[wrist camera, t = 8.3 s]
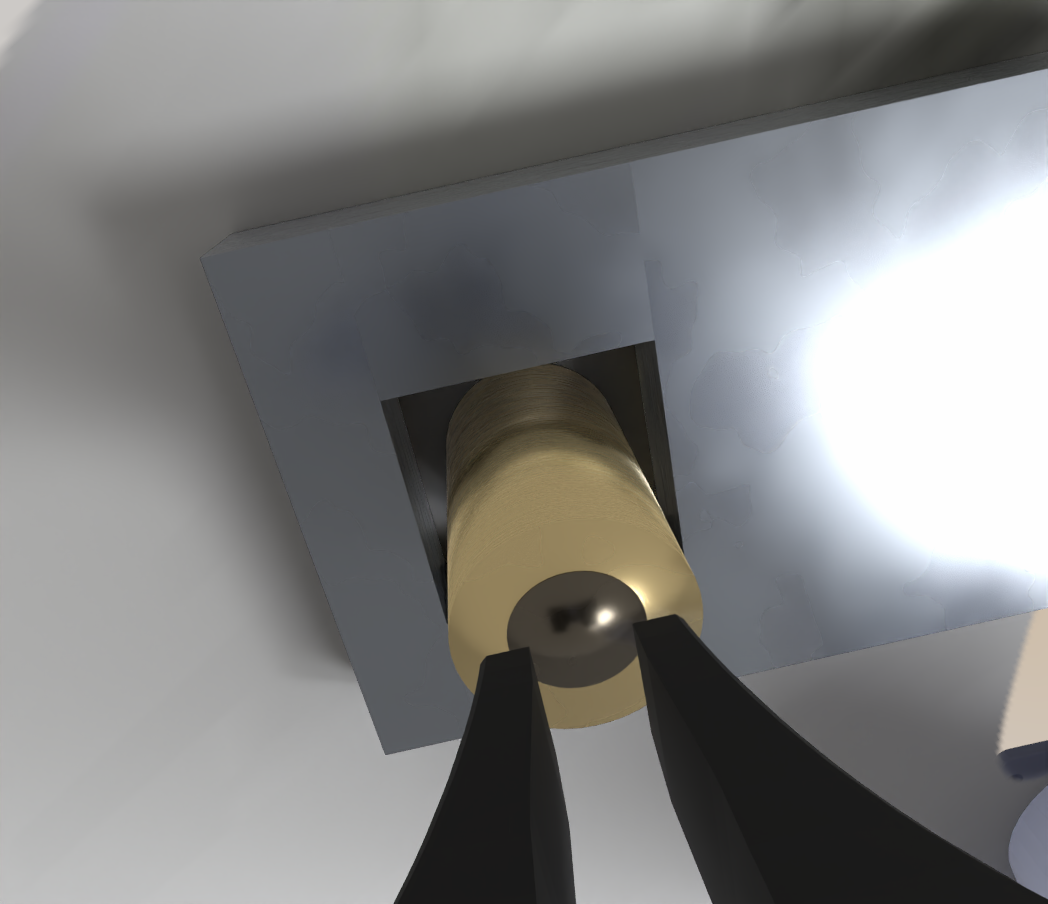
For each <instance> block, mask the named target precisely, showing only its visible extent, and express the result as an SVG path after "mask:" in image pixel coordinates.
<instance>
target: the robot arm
mask: <svg viewBox="0 0 1048 904" xmlns="http://www.w3.org/2000/svg"><path fill="white" fill-rule="evenodd" d="M632 625H633V631H634V637H635V642H636V648H637V653H638V659H639V665H640V670H641V676H642V682H643V687H644V693H645V698H646V704H647V710H648V715H649V721H650V727H651V732H652V736H653V740H654V743H655V746H656V750H657V753H658V757H659V760H660V764H661V767H662V771H663V774H664V778H665V781H666V785H667V788H668V791H669V795H670V798H671V802H672V804H673V807H674V809H675V812H676V814H677V817H678V819H679V822H680V824H681V827H682V829H683V832H684V834H685V837H686V839H687V842H688V844H689V847H690V849H691V852H692V854H693V857H694V859H695V862H696V864H697V867H698V869H699V872H700V874H701V876H702V879H703V881H704V884H705V886H706V889H707V891H708V894H709V896H710V899H711V901H712V904H1048V785H1047V786H1046V787H1045V788H1044V789H1043V790H1042V791H1041V792H1040V793H1039V794H1038V795H1037V796H1036V797H1035V798H1034V799H1033V800H1032V801H1031V802H1030V804H1029V805H1028V806H1027V808H1026V809H1025V810H1024V812H1023V813H1022V814H1021V816H1020V817H1019V819H1018V821H1017V823H1016V825H1015V827H1014V829H1013V831H1012V835H1011V839H1010V843H1009V863H1010V866H1011V869H1012V871H1013V874H1014V876H1015V878H1016V881H1017V882H1016V881H1014V880H1012V879H1010V878H1009V877H1007V876H1005V875H1004V874H1002V873H1000V872H999V871H997V870H995V869H993V868H992V867H990V866H988V865H987V864H985V863H983V862H982V861H980V860H978V859H976V858H975V857H973V856H971V855H970V854H968V853H966V852H964V851H963V850H961V849H959V848H958V847H956V846H954V845H953V844H951V843H949V842H947V841H946V840H944V839H942V838H941V837H939V836H938V835H936V834H934V833H933V832H931V831H930V830H928V829H927V828H925V827H924V826H922V825H921V824H919V823H918V822H916V821H915V820H913V819H912V818H910V817H909V816H907V815H906V814H904V813H903V812H901V811H900V810H898V809H897V808H895V807H894V806H892V805H891V804H889V803H888V802H886V801H885V800H884V799H882V798H881V797H879V796H878V795H877V794H875V793H874V792H872V791H871V790H870V789H868V788H867V787H865V786H864V785H862V784H861V783H860V782H858V781H857V780H856V779H854V778H853V777H852V776H850V775H849V774H848V773H846V772H845V771H844V770H842V769H841V768H840V767H839V766H837V765H836V764H835V763H833V762H832V761H831V760H830V759H828V758H827V757H826V756H825V755H823V754H822V753H821V752H820V751H818V750H817V749H816V748H815V747H814V746H812V745H811V744H810V743H809V742H808V741H806V740H805V739H804V738H803V737H801V736H800V735H799V734H798V733H797V732H795V731H794V730H793V729H792V728H791V727H790V726H789V725H787V724H786V723H785V722H784V721H783V720H782V719H781V718H779V717H778V716H777V715H776V714H775V713H774V712H773V711H772V710H771V709H770V708H769V707H767V706H766V705H765V704H764V703H763V702H762V701H761V700H760V699H759V698H758V697H757V696H756V695H755V694H753V693H752V692H751V691H750V690H749V689H748V688H747V687H746V686H745V685H744V684H743V683H742V682H741V681H740V680H739V679H738V678H737V677H736V676H735V675H734V674H733V673H732V672H731V671H730V670H729V669H728V668H727V667H726V666H725V665H724V664H723V663H722V662H721V661H720V660H719V659H718V658H717V657H716V656H715V655H714V653H713V652H712V651H711V650H710V649H709V648H708V647H707V646H706V645H705V644H704V642H703V641H702V640H701V639H700V638H699V637H698V636H697V634H696V633H695V632H694V631H693V630H692V629H691V627H690V626H689V625H688V624H687V622H686V621H685V620H684V619H683V618H681V617H680V616H678V615H677V614H672V615H668V616H663V617H659V618H654V619H650V620H645V621H641V622H636V623H632ZM999 755H1000V759H1001V767H1002V769H1003V771H1004V772H1005V774H1006V775H1008V776H1010V777H1012V778H1013V779H1015V780H1025V781H1026V780H1031V779H1037V778H1040V777H1043V776H1046V775H1048V740H1046V741H1041V742H1037V743H1033V744H1028V745H1024V746H1019V747H1014V748H1010V749H1007V750H1004V751H1002V752H1001V753H999ZM394 904H576V898H575V887H574V875H573V863H572V852H571V840H570V829H569V821H568V816H567V810H566V805H565V800H564V794H563V789H562V783H561V778H560V773H559V767H558V762H557V757H556V752H555V748H554V744H553V740H552V736H551V732H550V728H549V724H548V720H547V716H546V712H545V708H544V704H543V700H542V696H541V692H540V688H539V684H538V680H537V676H536V672H535V668H534V664H533V660H532V656H531V652H530V648H529V646H528V647H524V648H519V649H515V650H510V651H506V652H501V653H497V654H492V655H488V656H486V657H485V658H484V660H483V661H482V662H481V664H480V668H479V675H478V680H477V685H476V690H475V694H474V698H473V702H472V706H471V710H470V713H469V717H468V720H467V724H466V727H465V731H464V734H463V737H462V740H461V743H460V746H459V749H458V752H457V755H456V758H455V761H454V764H453V767H452V770H451V773H450V776H449V779H448V782H447V784H446V787H445V790H444V792H443V795H442V797H441V799H440V802H439V804H438V807H437V809H436V812H435V814H434V817H433V819H432V822H431V824H430V827H429V829H428V831H427V834H426V836H425V839H424V841H423V843H422V846H421V848H420V850H419V852H418V854H417V856H416V859H415V861H414V863H413V865H412V867H411V869H410V871H409V874H408V876H407V878H406V880H405V882H404V884H403V886H402V888H401V890H400V892H399V894H398V896H397V898H396V900H395V902H394Z"/></svg>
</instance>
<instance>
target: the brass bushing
mask: <svg viewBox="0 0 1048 904" xmlns="http://www.w3.org/2000/svg"><path fill="white" fill-rule="evenodd" d="M446 473H447V566H448V640H449V648H450V653H451V657H452V660H453V663H454V665H455V668H456V670H457V672H458V674H459V676H460V677H461V679H462V681H463V682H464V683H465V685H466V686H467V687H468V689H469V690H470V691H471V692H472V693H473V694H475V690H476V685H477V680H478V675H479V668H480V664H481V662H482V661H483V660H484V658H485V657H486V656H488V655H492V654H497V653H501V652H506V651H510V650H515V649H519V648H524V647H528V646H529V648H530V652H531V656H532V660H533V664H534V668H535V672H536V676H537V680H538V684H539V688H540V692H541V696H542V700H543V704H544V708H545V712H546V716H547V720H548V724H549V728H557V729H570V728H583V727H589V726H596V725H599V724H603V723H607V722H611V721H614V720H616V719H619V718H622V717H624V716H627V715H629V714H631V713H633V712H635V711H637V710H639V709H641V708H642V707H644V706H646V705H647V704H646V698H645V693H644V687H643V682H642V676H641V670H640V665H639V659H638V653H637V648H636V642H635V637H634V631H633V625H632V623H636V622H641V621H645V620H650V619H654V618H659V617H663V616H668V615H672V614H677V615H678V616H680V617H681V618H683V619H684V620H685V621H686V622H687V624H688V625H689V626H690V627H691V629H692V630H693V631H694V632H695V633H696V634H697V636H698V637H699V638H700V635H701V631H702V623H703V603H702V598H701V592H700V589H699V586H698V584H697V581H696V578H695V576H694V574H693V572H692V570H691V568H690V566H689V564H688V562H687V560H686V558H685V556H684V554H683V552H682V550H681V548H680V546H679V544H678V542H677V540H676V538H675V536H674V534H673V532H672V530H671V528H670V526H669V524H668V522H667V520H666V518H665V516H664V514H663V512H662V510H661V508H660V506H659V504H658V502H657V500H656V498H655V496H654V494H653V492H652V490H651V488H650V486H649V484H648V482H647V480H646V478H645V476H644V474H643V472H642V470H641V468H640V466H639V464H638V462H637V460H636V458H635V456H634V454H633V452H632V450H631V448H630V446H629V444H628V442H627V440H626V438H625V436H624V434H623V432H622V430H621V428H620V426H619V424H618V422H617V420H616V418H615V416H614V414H613V412H612V410H611V408H610V406H609V404H608V402H607V400H606V399H605V397H604V396H603V395H602V393H601V392H600V391H599V390H598V389H597V388H596V387H595V386H594V385H593V384H592V383H591V382H590V381H588V380H587V379H586V378H584V377H583V376H581V375H580V374H578V373H576V372H574V371H572V370H569V369H567V368H564V367H561V366H557V365H553V364H544V365H540V366H535V367H531V368H526V369H522V370H517V371H513V372H509V373H504V374H500V375H495V376H491V377H486V378H483V379H482V380H481V381H479V382H478V383H477V384H475V385H474V386H473V387H472V388H471V389H470V390H469V391H468V392H467V393H466V394H465V396H464V397H463V398H462V399H461V401H460V402H459V404H458V406H457V407H456V409H455V411H454V413H453V415H452V418H451V420H450V423H449V427H448V431H447V439H446Z"/></svg>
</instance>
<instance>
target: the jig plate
mask: <svg viewBox="0 0 1048 904" xmlns="http://www.w3.org/2000/svg"><path fill="white" fill-rule="evenodd" d="M200 260H201V262H202V265H203V268H204V271H205V273H206V276H207V279H208V281H209V284H210V287H211V289H212V292H213V295H214V297H215V300H216V303H217V305H218V308H219V311H220V313H221V316H222V319H223V321H224V324H225V327H226V329H227V332H228V335H229V338H230V340H231V343H232V346H233V348H234V351H235V354H236V356H237V359H238V362H239V364H240V367H241V370H242V372H243V375H244V378H245V380H246V383H247V386H248V388H249V391H250V394H251V396H252V399H253V402H254V405H255V407H256V410H257V413H258V415H259V418H260V421H261V423H262V426H263V429H264V431H265V434H266V437H267V439H268V442H269V445H270V447H271V450H272V453H273V455H274V458H275V461H276V463H277V466H278V469H279V472H280V474H281V477H282V480H283V482H284V485H285V488H286V490H287V493H288V496H289V498H290V501H291V504H292V506H293V509H294V512H295V514H296V517H297V520H298V522H299V525H300V528H301V530H302V533H303V536H304V539H305V541H306V544H307V547H308V549H309V552H310V555H311V557H312V560H313V563H314V565H315V568H316V571H317V573H318V576H319V579H320V581H321V584H322V587H323V589H324V592H325V595H326V597H327V600H328V603H329V606H330V608H331V611H332V614H333V616H334V619H335V622H336V624H337V627H338V630H339V632H340V635H341V638H342V640H343V643H344V646H345V648H346V651H347V654H348V656H349V659H350V662H351V664H352V667H353V670H354V673H355V675H356V678H357V681H358V683H359V686H360V689H361V691H362V694H363V697H364V699H365V702H366V705H367V707H368V710H369V713H370V715H371V718H372V721H373V723H374V726H375V729H376V731H377V734H378V737H379V740H380V742H381V745H382V748H383V750H384V753H385V755H388V754H393V753H397V752H402V751H406V750H411V749H415V748H420V747H424V746H429V745H433V744H438V743H442V742H447V741H451V740H456V739H460V738H462V737H463V734H464V731H465V727H466V724H467V720H468V717H469V713H470V710H471V706H472V702H473V698H474V694H473V693H472V692H471V691H470V690H469V689H468V687H467V686H466V685H465V683H464V682H463V681H462V679H461V677H460V676H459V674H458V672H457V670H456V668H455V665H454V663H453V660H452V657H451V653H450V648H449V640H448V566H447V565H446V562H445V559H444V555H443V552H442V549H441V545H440V542H439V538H438V535H437V531H436V528H435V524H434V521H433V517H432V514H431V511H430V507H429V504H428V500H427V497H426V493H425V490H424V486H423V483H422V479H421V476H420V473H419V469H418V466H417V462H416V459H415V455H414V452H413V448H412V445H411V441H410V438H409V434H408V431H407V428H406V424H405V421H404V417H403V414H402V410H401V407H400V403H399V400H398V397H401V396H405V395H410V394H414V393H419V392H423V391H428V390H432V389H437V388H441V387H446V386H450V385H455V384H459V383H464V382H468V381H473V380H477V379H482V378H486V377H491V376H495V375H500V374H504V373H509V372H513V371H517V370H522V369H526V368H531V367H535V366H540V365H544V364H549V363H553V362H558V361H562V360H567V359H571V358H576V357H580V356H585V355H589V354H594V353H598V352H603V351H607V350H612V349H616V348H621V347H625V346H630V345H634V346H635V353H636V359H637V366H638V373H639V379H640V386H641V393H642V400H643V406H644V413H645V420H646V426H647V433H648V440H649V447H650V453H651V460H652V467H653V474H654V480H655V487H656V494H657V500H658V504H659V506H660V508H661V510H662V512H663V514H664V516H665V518H666V520H667V522H668V524H669V526H670V528H671V530H672V532H673V534H674V536H675V538H676V540H677V542H678V544H679V546H680V548H681V550H682V552H683V554H684V556H685V558H686V560H687V562H688V564H689V566H690V568H691V570H692V572H693V574H694V576H695V578H696V581H697V584H698V586H699V589H700V592H701V598H702V603H703V623H702V631H701V635H700V639H701V640H702V641H703V642H704V644H705V645H706V646H707V647H708V648H709V649H710V650H711V651H712V652H713V653H714V655H715V656H716V657H717V658H718V659H719V660H720V661H721V662H722V663H723V664H724V665H725V666H726V667H727V668H728V669H729V670H730V671H731V672H732V673H733V674H734V675H735V676H736V677H739V676H744V675H748V674H753V673H757V672H762V671H766V670H771V669H775V668H780V667H784V666H789V665H793V664H798V663H802V662H807V661H811V660H816V659H820V658H825V657H829V656H834V655H838V654H843V653H847V652H852V651H856V650H861V649H865V648H870V647H874V646H879V645H883V644H888V643H892V642H897V641H901V640H906V639H910V638H915V637H919V636H924V635H928V634H933V633H937V632H942V631H946V630H951V629H955V628H959V627H964V626H968V625H973V624H977V623H982V622H986V621H991V620H995V619H1000V618H1004V617H1009V616H1013V615H1018V614H1022V613H1027V612H1031V611H1036V610H1040V609H1045V608H1048V51H1047V52H1043V53H1038V54H1034V55H1029V56H1025V57H1020V58H1016V59H1011V60H1007V61H1003V62H998V63H994V64H989V65H985V66H980V67H976V68H971V69H967V70H962V71H958V72H953V73H949V74H944V75H940V76H935V77H931V78H926V79H922V80H918V81H913V82H909V83H904V84H900V85H895V86H891V87H886V88H882V89H877V90H873V91H868V92H864V93H859V94H855V95H850V96H846V97H841V98H837V99H833V100H828V101H824V102H819V103H815V104H810V105H806V106H801V107H797V108H792V109H788V110H783V111H779V112H774V113H770V114H765V115H761V116H756V117H752V118H747V119H743V120H739V121H734V122H730V123H725V124H721V125H716V126H712V127H707V128H703V129H698V130H694V131H689V132H685V133H680V134H676V135H671V136H667V137H662V138H658V139H654V140H649V141H645V142H640V143H636V144H631V145H627V146H622V147H618V148H613V149H609V150H604V151H600V152H595V153H591V154H586V155H582V156H577V157H573V158H568V159H564V160H560V161H555V162H551V163H546V164H542V165H537V166H533V167H528V168H524V169H519V170H515V171H510V172H506V173H501V174H497V175H492V176H488V177H483V178H479V179H475V180H470V181H466V182H461V183H457V184H452V185H448V186H443V187H439V188H434V189H430V190H425V191H421V192H416V193H412V194H407V195H403V196H398V197H394V198H390V199H385V200H381V201H376V202H372V203H367V204H363V205H358V206H354V207H349V208H345V209H340V210H336V211H331V212H327V213H322V214H318V215H313V216H309V217H304V218H300V219H296V220H291V221H287V222H282V223H278V224H273V225H269V226H264V227H260V228H255V229H251V230H246V231H242V232H237V233H233V234H231V235H229V236H228V237H227V238H225V239H224V240H223V241H222V242H220V243H219V244H218V245H216V246H215V247H214V248H212V249H211V250H210V251H209V252H207V253H206V254H205V255H203V256H202V257H201V258H200Z"/></svg>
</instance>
